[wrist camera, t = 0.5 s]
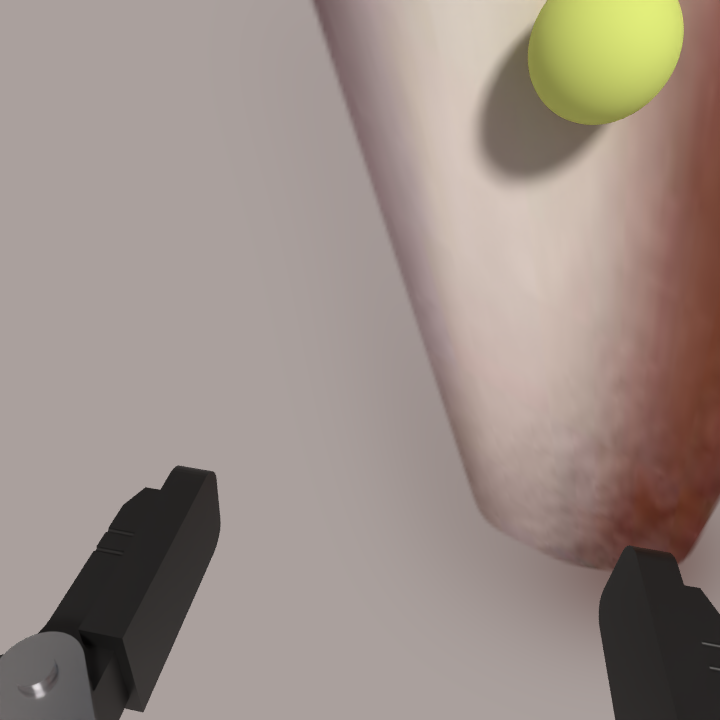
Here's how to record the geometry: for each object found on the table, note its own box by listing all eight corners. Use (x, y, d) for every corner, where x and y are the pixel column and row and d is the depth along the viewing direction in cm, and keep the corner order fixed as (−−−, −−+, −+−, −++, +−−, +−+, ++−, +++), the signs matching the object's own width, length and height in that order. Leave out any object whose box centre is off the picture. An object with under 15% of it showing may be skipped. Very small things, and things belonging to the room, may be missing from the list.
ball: (539, -47, 26) (552, -39, 21) (684, -38, 26) (730, -28, 21) (512, 100, 30) (517, 134, 25) (639, 111, 29) (669, 149, 24)
